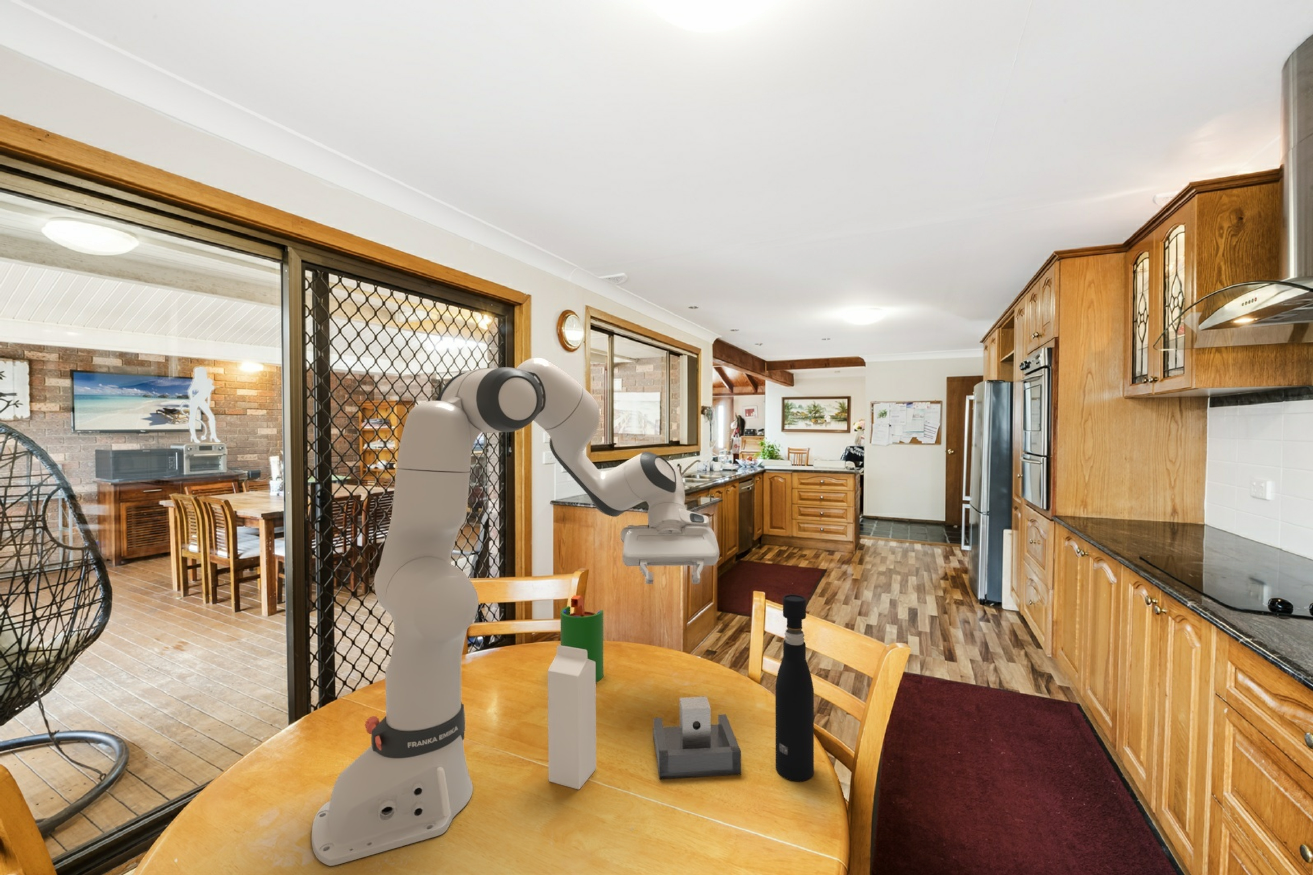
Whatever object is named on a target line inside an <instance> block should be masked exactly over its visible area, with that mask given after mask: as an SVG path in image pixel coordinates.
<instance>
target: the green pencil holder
mask: <svg viewBox="0 0 1313 875" xmlns="http://www.w3.org/2000/svg"><path fill="white" fill-rule="evenodd" d="M571 608H574V609H575V610H574V612H572V613H571ZM560 645H561V646H567V647H573V648H579V649H585V650H587V659H589V660H592V661H595V663H596V683H597V682H599V681H600V680H602V678H604V610H603V609H602V610H599V611H597V613H595V612H591V611H585V602H584V596H583V595H577V594H576V595H573V596H572V597H571V598H570V606H566V607H563V608H562V609H561V610H560Z"/></svg>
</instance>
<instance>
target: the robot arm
mask: <svg viewBox="0 0 1313 875" xmlns="http://www.w3.org/2000/svg"><path fill="white" fill-rule="evenodd" d="M600 419H601V413H600V408H599V404H598V402H597V400H596V399H595V398H594V397H593V395H592V394H591V393H590V392H589V391H588V390H587V389H586V388H585V387H584V386H583V385H581V384H580V383H579V382H578V381H577V380H576V379H575V378H573V377H572V376H571V375H570V374H568V373H567V372H566V371H564V370H563V369H562V368H560V367H559V366H557V365H555V364H554V363H552V362H550V361H549V360H547V359H545V358H543V357H530V358H528V359H526V360H524V361H523V362H521V363H520V364H519V365H518V366H517V367H516V368H515V367H508V366H505V367H504V366H503V367H495V368H490V367H481V368H477V369H473V370H470V371H464V372H461V373H458V374H456V375H455V376H453V377H452V378H450V379H449V380H448V381H447V382H446V383H445V384H444V386H443V387H442V389H441V391H440V393H439V394H438V396H437V397H436V398H435V400H429V401H425V402H421V403H419V404H417V405H415V406H413V407H412V408H411V409H410V411H409V412H408V414H407V416H406V419H405V423H404V426H403V430H402V434H401V438H400V442H399V447H398V453H397V458H396V459H397V461H396V469H395V478H394V487H393V500H392V507H391V509H392V510H391V516H390V522H389V525H388V526H389V528H388V531H387V534H386V539H385V542H384V545H383V549H382V552H381V556H380V562H379V566H378V567H377V569H376V572H375V574H374V578H373V580H374V582H373V586H374V592H375V597H376V599H377V601H378V603H379V605H380V606H381V607H382V609H384V611H385V612H387V613H388V614H389V616H391V619H392V621H393V622H392V623H393V627H394V630H393V631H394V633H393V643H392V644H393V645H392V650H391V654H390V659H389V662H388V664H387V666H386V668H385V716H384V718H382V719H381V720H380V719H379V718H378V716H370V717H368V718H367V719H366V721H365V724H364V726H365V729H366V730H365V731H366V732H367V734H369V735H370V736H371V737H370V738H371V740H370V741H371V745H370V746H369V747H368V748H367V749H365V751H364V752H362V754H360V755H359V756H358V757H357V758H356V759H354V761H352V762H350V763H351V764H349V765H348V766H347V767H346V768H344V769H343V770H342V771H341V772H340V773H339V775H338V776H337V778H336V780H335V782H334V785H333V788H332V791H331V794H330V795H331V796H330V800H329V801H327V802H325V803H323V805H322V806H321V807H320V808H319V809H318V811H317V812H316V814H315V816H314V819H313V821H312V825H311V826H312V827H311V835H310V836H311V846H312V851H313V854H314V855H315V857H316V859H318V861H319V862H321V863H322V864H324V865H327V866H328V867H329V866H330V867H332V866H333V867H334V866H337V865H340V864H344V863H348V862H352V861H355V860H357V859H361V858H365V857H368V856H369V857H370V856H372V855H375V854H380V853H384V852H387V851H389V850H390V851H391V850H394V849H396V848H400V847H403V846H406V845H407V846H408V845H411V844H414V843H417V842H421V841H424V840H428V839H432V838H435V837H438V836H441V835H443V834H444V833H446V831H447V830H448V829H449V827H450V825H451V823H452V821H453V819H454V818H455V817H456V816H457V814H459V813H460V811H462V810H463V809H464V807H466V805H467V804H468V803H469V801H470V799H471V797H472V795H473V792H474V791H473V789H474V785H473V782H472V780H471V779H472V778H471V776H470V774H469V773H470V772H469V770H468V766H467V761H466V754H465V748H464V739H465V732H466V713H465V712H466V711H465V705H464V704H463V703H462V657H463V650H464V646H465V642H466V641H465V640H466V636H467V633H468V632H467V631H468V628H469V627H471V625H472V623H473V621H475V618H476V615H477V614H478V609H479V594H478V591H477V589H476V587H475V586H474V584H473V582H472V581H471V579H470V578H469V577H468V575H467V574H466V573H465V572H464V571H463V570H462V569H460V568H459V567H457V566H455V565H453V564H452V553H453V550H454V546H455V543H456V540H457V537H458V534H459V531H460V529H461V527H462V526H463V525H464V524H465V521H466V519H467V512H468V503H469V499H468V498H469V490H470V479H471V477H470V476H471V465H472V452H473V447H474V446H475V443H476V440H477V439H478V437H479V436H480V434H482V433H484V434H498V433H511V432H512V433H513V432H515V431H520V430H521V429H523V428H525V427H526V426H528V425H530V424H531V423H532V422H533V421H534V422H535V423H536V425H538V426H540V428H542V429H543V430H544V431H545V432H546V433H547V435H549V437H550V438H549V449H550V451H551V453H552V455H553V456H554V458H555V459H556V461H557V462H558V463H559V465H561V467H562V468H563V469H564V470H565V471H566V472H567V473H568V475H570V477H571V478H572V479H573V480H574V481H575V482H576V483H577V485H579V486H580V487H581V489H582V490H583V491H584V492H585V493H586V494H587V496H588V498H589V499H590V500H591V503H592V504H593V505H594V507H595V508H596V509H597V510H598V511H599V512H600V513H602V514H603V515H606V516H609V517H612V518H616V517H619V516H621V515H622V514H624V513H625V512H626V511H627V512H628V511H629V510H630V509H631V508H633V507H635V506H637V505H639V504H641V503H644V502H646V503H647V505H648V510H647V524H639V525H638V524H637V525H634V524H629V525H627V526H626V527H623V528H622V530H620V541H621V542H622V543H623V544H622V545H623V547H622V563H623V564H624V565H625V567H639V571H640V573H641V574H642V575H643V577H645V578H644V579H645V584H646V585H653V584H654V572H652V571H651V572H650V571H649V569H647V568H648V567H666V566H667V567H669V566H670V567H671V566H672V567H674V566H675V567H677V566H679V567H680V566H686V567H687V566H688V567H689V566H694V567H695V570H696V571H692V572H691V583H692V584H700V582H701V573H702V571H703V569H704V566H715V565H716V564H717V563H718V561H719V559H720V558H719V557H720V548H719V543H718V541H717V540H718V539H717V536H716V534H715V532H714V530H713V529H712V527H710V518H709V517H708V516H707V515H704V514H700V513H697V512H694V511H690V510H688V509H687V507H686V505H685V501H686V493H685V492H686V491H685V486H684V482H683V479H682V475H681V471H680V470H679V468H678V466H677V465H676V464H675V463H673V462H671V461H668V460H666V459H665V458H664V457H662V456H660V455H658V454H657V453H653V452H650V451H644V452H641V453H639V454H637V455H635V456H634V457H632V458H630V459H628V460H626V461H624V462H623V463H621V464H619V465H617V466H615V467H613V468H611V469H609V470H603V471H602V470H599V469H598V468H597V466H596V465H595V464H594V463H593V462H592V461H591V459H589V457H588V456H587V455H586V454H585V452H584V451H585V448H586V447H587V446H588V445H589V444H590V442H591V441H592V440H593V439H594V436H595V434H596V433H597V430H598V427H599V424H600Z"/></svg>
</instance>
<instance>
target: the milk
mask: <svg viewBox="0 0 1313 875" xmlns="http://www.w3.org/2000/svg"><path fill="white" fill-rule="evenodd" d="M596 686H597V682H596V663H595V661H592V660H589V659H587V650H585V649H579V648H573V647H567V646H561V644H558V645H557V646H556V655H555V656H554V658H553V661H552V662H551V664H550V665H549V667H548V670H547V727H548V728H547V731H548V732H547V733H548V734H547V736H548V737H547V738H548V739H547V741H548V742H547V744H548V747H547V748H548V749H547V750H548V753H547V754H548V761H547V762H548V782H550V783H553V784H557V785H561V786H565V787H568V788H572V789H575V790H580V789H581V788H582V787H583V786H584V785H585V784H586V782H587V781H588V779H589V778H590V777H591V776H592V774H593V773H594V772H595V771H596V770H597V701H596V699H597V697H596V693H597V691H596V690H597V687H596Z"/></svg>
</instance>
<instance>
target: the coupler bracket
mask: <svg viewBox="0 0 1313 875" xmlns="http://www.w3.org/2000/svg"><path fill="white" fill-rule="evenodd" d="M717 716H718V717H717V720H718V722H717V723H716V724H711V748H699V749H681V750H680V725H679V726H664V725H663V718H662V717H653V728H652V736H653V742H654V750H655V757H656V763H657V772H658V779H659V780H671V779H673V780H674V779H690V778H691V777H692V778H704V777H709V778H710V777H721V776H738V774H740V776H741V775H742V751H741V748H740V745H739V743H738V741H737V738H736V736H735V733H734V730H733V728H732V725H731V723H730V721H729V719H728V716H727V714H718V715H717Z"/></svg>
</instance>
